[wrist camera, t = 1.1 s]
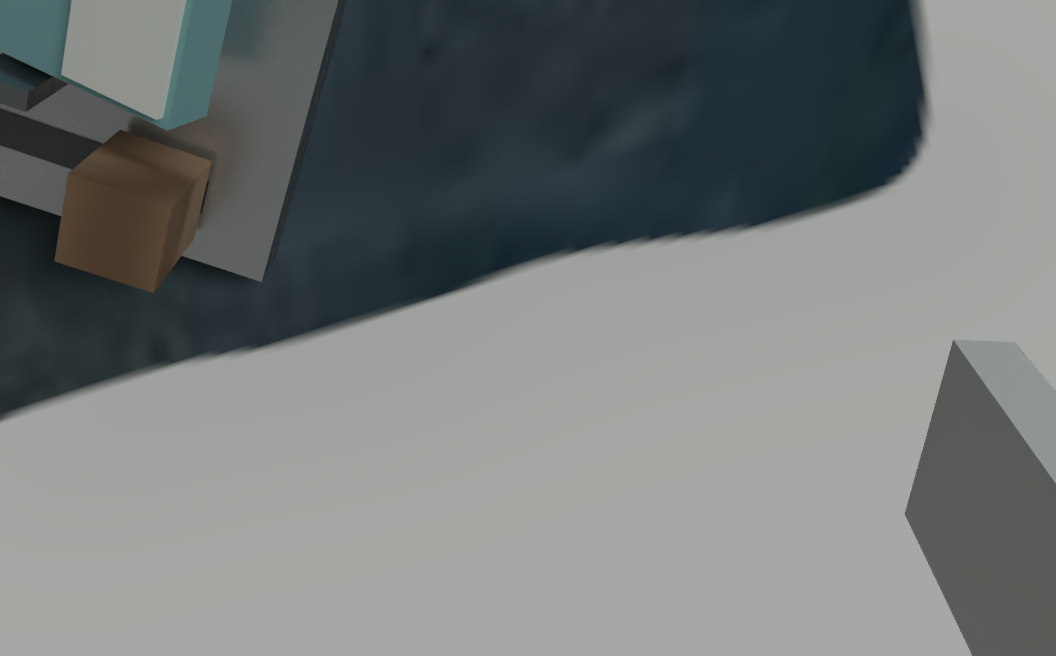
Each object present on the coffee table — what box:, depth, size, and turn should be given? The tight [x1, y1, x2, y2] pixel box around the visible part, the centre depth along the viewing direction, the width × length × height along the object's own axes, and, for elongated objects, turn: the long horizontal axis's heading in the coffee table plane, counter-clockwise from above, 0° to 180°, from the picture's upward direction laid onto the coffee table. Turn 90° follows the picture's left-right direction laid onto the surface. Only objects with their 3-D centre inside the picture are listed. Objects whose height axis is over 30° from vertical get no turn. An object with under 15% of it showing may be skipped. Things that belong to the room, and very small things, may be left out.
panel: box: [0, 0, 346, 282], centre depth 29 cm, size 17×14×7 cm
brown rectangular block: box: [55, 130, 212, 293], centre depth 31 cm, size 3×3×4 cm
